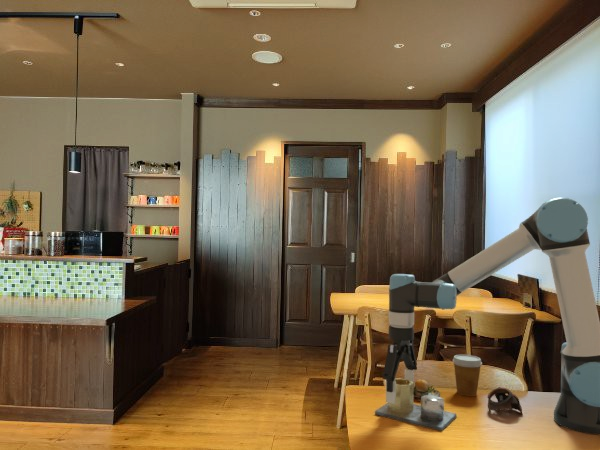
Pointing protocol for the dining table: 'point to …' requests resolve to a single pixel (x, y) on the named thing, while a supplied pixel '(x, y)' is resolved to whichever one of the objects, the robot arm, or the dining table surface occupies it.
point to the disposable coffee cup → (467, 374)
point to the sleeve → (403, 396)
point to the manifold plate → (417, 417)
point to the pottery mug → (503, 400)
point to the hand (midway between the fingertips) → (400, 396)
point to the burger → (423, 390)
